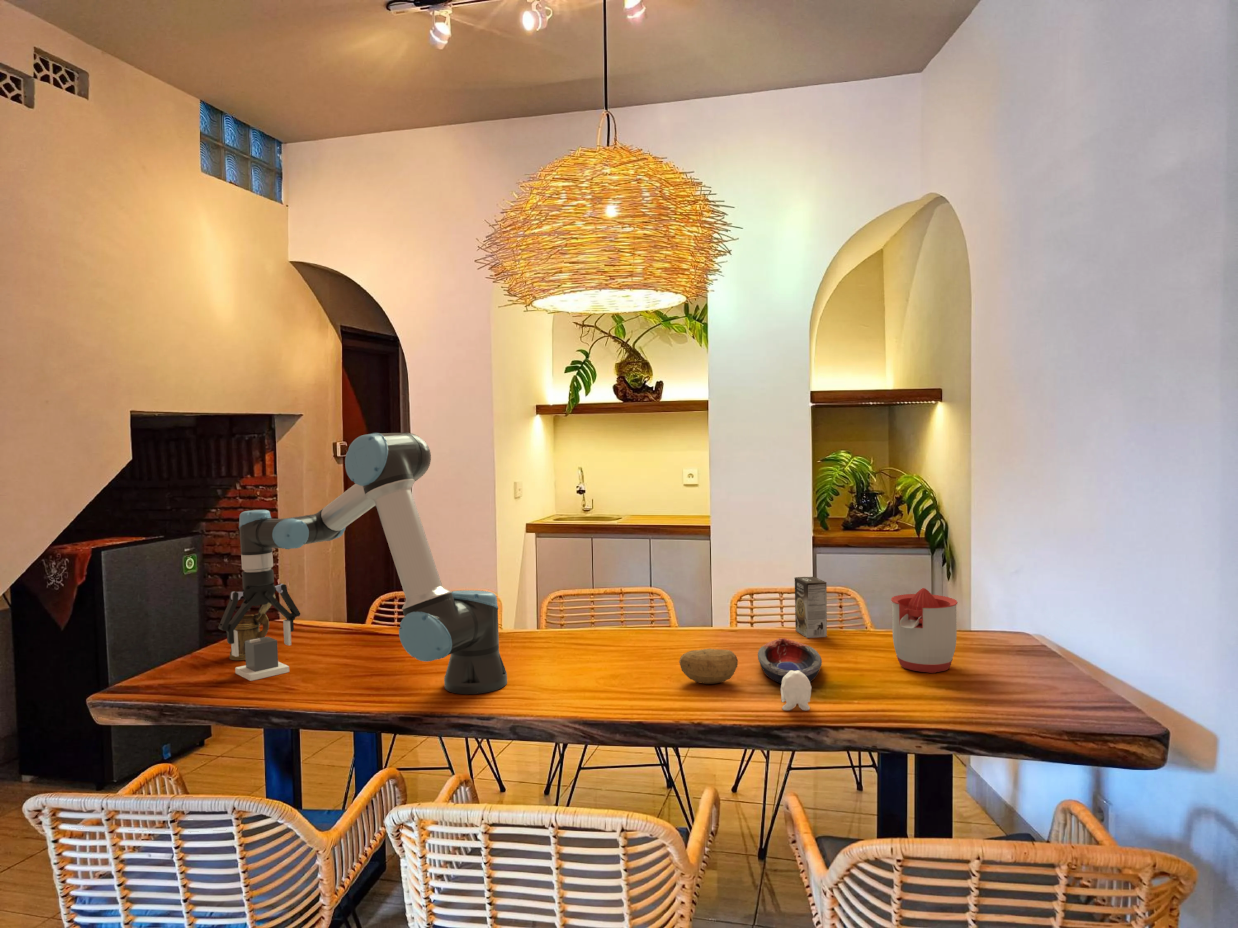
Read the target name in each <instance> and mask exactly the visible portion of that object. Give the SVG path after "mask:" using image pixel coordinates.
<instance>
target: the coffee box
mask: <svg viewBox="0 0 1238 928" xmlns="http://www.w3.org/2000/svg"><path fill="white" fill-rule="evenodd" d="M827 585H828V584H827V581H825V580H822V579H819V578H818V577H816V576H797V577H794V615H795V616H794V617H795V620H794V621H795V632H797V633H799V634H801V635H802V636H803V637H805V638H806V639H813V638H827V637H828V635H827V634H828V632H827V631H828V627H827V626H828V625H827V623H828V622H827V621H828V619H827V618H828V615H827V613H828V611H827V610H828V609H827V607H828V606H827V605H828V603H827V602H828V601H827V599H828V596H827V591H828V587H827Z"/></svg>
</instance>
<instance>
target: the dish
mask: <svg viewBox="0 0 1238 928" xmlns="http://www.w3.org/2000/svg"><path fill="white" fill-rule="evenodd" d="M757 660H758V662H759V665H760V667H761V669H762V671H763V672H764V674H765V675H766V676H767V677H768V678H769V679H771V680H773V681H775V682H777V683H779V684H782V679H783V677H784V676H785V675H786V674H787V673H788V672H789V671H791V670H793V671H797V670H799V671H800V672H802V673H803V674H805V675H806V677H807V678H808V680H809V681H810V682H812V681H813V680H815V678H816V677H817V676H818V674H819V673H820V670H821V667H822V665H823V664H822V663H823V661H822V660H823V659H822V657H821V655H820V654H819V652H818V650H817V649H815V648H813V647H812V646H810V645H808V644H805V643H802V642H798V641H796V640H792V639H789V638H785V637H784V638H783V637H782V638H781V637H779V638H777V639H774V640H771V641H769V642H766V643H765V644H763V645H762V646H761V647H760V648H759V649H758V651H757Z"/></svg>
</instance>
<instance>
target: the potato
mask: <svg viewBox="0 0 1238 928" xmlns="http://www.w3.org/2000/svg"><path fill="white" fill-rule="evenodd" d="M678 662H679V666H680V669H681V671H682V673H683V674H684V675H685V676H686V677H687V678H688V679H690V680H692V681H694V682H695V683H699V684H703V685H714V684H715V685H716V684H719V683H723V682H726V681H727V680H730V679H731V678H732V677H733V675H735V672H736V670H737V669H738V662H739V661H738V658H737V655H736V654H735V653H734V652H733V651H732V650H729V649H715V648H704V649H696V650H690V651H687V652H685V653H683V654H682V655H681V656H680V659H679V661H678Z"/></svg>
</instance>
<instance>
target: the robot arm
mask: <svg viewBox="0 0 1238 928" xmlns="http://www.w3.org/2000/svg"><path fill="white" fill-rule="evenodd" d="M431 453H432V452H431V449H430V448H429V445H428V443H427V442H426V441H425V440H424V439H423V438H422V437H420V436H419V435H416V434H414V433H412V432H388V433H387V432H386V433H380V432H372V433H368V434H363V435H359V436H358V437H356V438H355V439H354V440H353V441H352V442H351V443H350V444H349V447H348V450H347V452H346V454H345V459H344V464H345V465H344V466H345V472H346V475H347V476H348V478H349V479H350V481H351V482H353V483H354V484H353V485H351V487H349V488H347V490H345V491H344V492H343V493H341V494H340V495H339V496H337V497H336V498H334V499H333V500H332V501H331V502H329V503H328V504H327V505H325V506H324V507H323V508H321V509H320V510H319V511H317V512H316V513H313V514H305V515H300V516H293V517H285V518H284V517H283V518H272V516H271V511H269V510H267V509H255V510H254V509H253V510H245V511H242V512H241V513H240V514H239V523H238V525H239V526H238V529H239V544H240V556H241V569H242V570H243V571H242V573H241V576H242V590H241V591H234V590H233V591H232V590H231V591H230V593H229V601H228V602H227V604H226V605H227V606H226V607H225V610H224V613H223V615H222V617H221V620H220V622H219V624H218V627H217V628H218V629H219V630H221V631H222V632H223V631H225V632H226V642H227V644H229V645H230V646H231V648H230V650H231V649H232V655H233V656H235V657H237V656H239V650H238V632H237V631H236V630H234V629H235V628H236V627H237V625H238V624H239V622H240V621H241V619H242V618H243V617H244V615H247V612H248V611H249V610H250V609H251V608H252V606H253V607H260V606H261V605H265V604H267V603H270V604H271V607H274V609H275V610H276V611H277V612H279V613H280V614H281V615H282V616H283V617H284V618H285V619H283V620H282V623H283V624H282V625H283V642H284V645H286V646H292V632H294V629H295V627H294V625H295V624H294V621H295V619H296V618H297V617H300V616H301V612H300V611H299V609H298V607H297V606H296V604H295V602H294V600H293V599H292V597H291V595H290V594H289V592H288V586H287V584H285V583H278V584H277V585H275V576H274V575H275V573H274V569H273V567H274V558H273V549H285V550H291V549H299V548H301V547H303V546H304V545H309V544H317V543H320V542H330V541H333V540H336V539H339V538H341V537H342V536H343V535H344V533H345V531H346V528H347V527H348V526H349V525H350V524H352V523H353V522H355V521H356V520H357V519H359V518H360V517H361V516H362V515H364V514H366V513H367V512H369V511H370V510H371V509H373V508H374V507H375V508H376V509H377V513H378V516H379V521H380V523H381V526H382V528H383V529H382V530H383V533H384V535H385V538H386V542H387V543H388V547H389V550H390V551H389V552H390V553H391V556H392V560H393V562H394V566H395V569H396V572H397V575H398V579H399V581H400V585H401V586H402V587H401V588H402V591H403V594H404V597H405V601H404V604H403V605H402V608H401V610H402V613H403V616H404V617H403V618H402V619H401V621H400V624H399V626H400V627H399V628H398V636H399V637H398V638H399V640H400V643H401V645H402V647H403V649H404V650H405V651H406V653H407V654H408V655H410V656H411V657H412V658H415V659H416V660H417V661H420V662H425V663H426V662H432V661H436V660H437V661H438V660H441V659H444V658H447V656H450V657H449V661H448V663H447V668H446V671H445V675H444V677H443V678H444V681H443V683H444V689H445V690H446V691H447V692H449V693H454V694H459V695H479V694H486V693H491V692H494V691H497V690H499V689H502V688H504V687H506V685H507V684H508V673H507V670H506V667H505V665H504V662H503V660H502V657H501V654H500V641H499V639H500V637H499V612H498V611H499V606H498V598H497V595H496V594H495V593H494V592H491V591H486V590H485V591H484V590H474V589H473V590H469V589H468V590H466V589H465V590H464V589H463V590H453V591H451V590H449V589H447V588H446V587H444V586H443V584H442V580H441V577H440V575H439V572H438V569H437V568H438V567H437V565H436V563H435V559H434V556H433V553H432V551H431V547H430V545H429V541H428V538H427V536H426V532H425V530H424V526H423V523H422V521H421V517H420V514H419V513H420V512H419V510H418V508H417V505H416V502H415V499H414V495H413V492H412V488H413V486H414V484H415V483H416V482H417V481H418V480H419V479H421V478H422V477H423V476H424V475H425V474H426V473H427V471H428V470H429V468H430V465H431V461H432V455H431ZM276 591H277V593H279V595H280V597H281V598H282V600H283V601H284V603H285V604H286V607H287V608H288V610H289V611H288V610H287V609H286V607H284V606H283V605H282V604H281V603H280V602H279V601H278V599H276V598H274V597H273V595H274V594H276ZM241 598H244V600H243V601H242V603H241V605H240V607H239V608H238V610H237V611H236V612H235V610H236V608H237V605H238V602H239V600H241ZM234 612H235V614H234Z"/></svg>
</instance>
